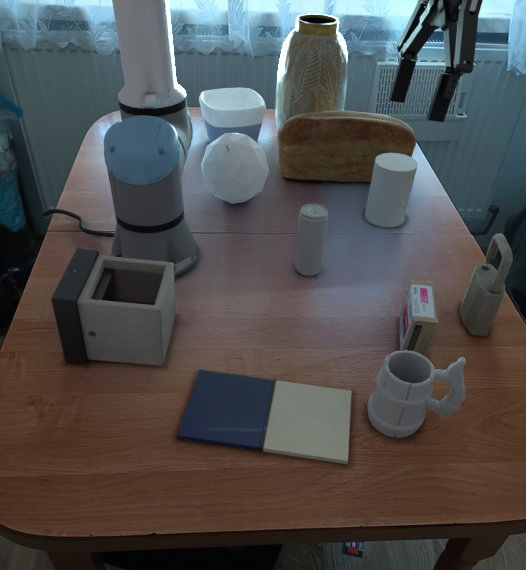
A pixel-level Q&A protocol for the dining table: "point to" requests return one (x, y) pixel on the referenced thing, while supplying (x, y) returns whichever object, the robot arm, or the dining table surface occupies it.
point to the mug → (412, 393)
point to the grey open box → (115, 309)
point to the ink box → (419, 317)
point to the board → (269, 416)
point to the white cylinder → (390, 189)
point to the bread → (339, 144)
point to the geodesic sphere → (234, 167)
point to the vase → (311, 69)
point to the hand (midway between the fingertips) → (414, 110)
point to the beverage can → (311, 239)
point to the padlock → (486, 289)
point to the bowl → (232, 112)
